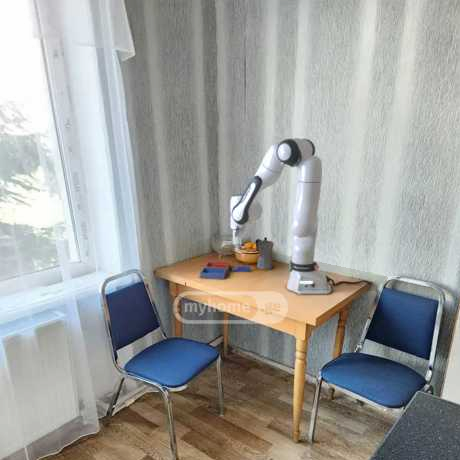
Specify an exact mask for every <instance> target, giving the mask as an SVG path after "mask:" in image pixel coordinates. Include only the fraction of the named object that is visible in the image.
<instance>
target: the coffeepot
mask: <svg viewBox="0 0 460 460" xmlns="http://www.w3.org/2000/svg"><path fill="white" fill-rule="evenodd" d="M254 243H255V247H256V252H257V251H258V252H259V253H258V252H257V253H258V259H257V264H256V268H257V269H259V270H262V271H263V270H264V271H267V270H271V269H272V268H273V260H272V254H273V250H274V249H273V248H274V242H273V241H272V240H268V237H265V236H264V238H263V240H262V239H259V238H257V239H256V240H255V242H254Z"/></svg>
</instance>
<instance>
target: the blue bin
mask: <svg viewBox="0 0 460 460" xmlns="http://www.w3.org/2000/svg"><path fill="white" fill-rule="evenodd" d="M227 274H228V272H227V269H222V268H205V267H203V269H202V270H201V271H200V273H199V276H200V279H212V280H213V279H215V280H225V278H226V277H227Z"/></svg>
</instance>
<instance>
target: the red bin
mask: <svg viewBox="0 0 460 460" xmlns="http://www.w3.org/2000/svg"><path fill="white" fill-rule="evenodd" d="M215 264H228V266H227V267H210V266H216V265H215ZM204 268H222V269H227V273H228V272H229V270H230V269H231V262H224V261H207V263H206V264H205V266H204Z"/></svg>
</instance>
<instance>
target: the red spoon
mask: <svg viewBox="0 0 460 460" xmlns="http://www.w3.org/2000/svg"><path fill="white" fill-rule="evenodd" d="M215 265H216V266H210V267H227V266H228V264H215Z"/></svg>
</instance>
